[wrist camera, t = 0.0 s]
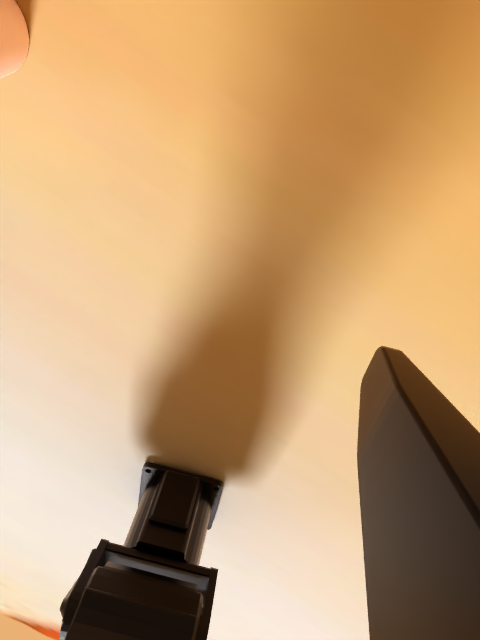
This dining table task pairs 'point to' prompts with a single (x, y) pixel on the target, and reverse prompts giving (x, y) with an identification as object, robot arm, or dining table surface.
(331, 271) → the dining table surface
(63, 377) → the dining table surface
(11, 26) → the smoothie
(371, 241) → the dining table surface
